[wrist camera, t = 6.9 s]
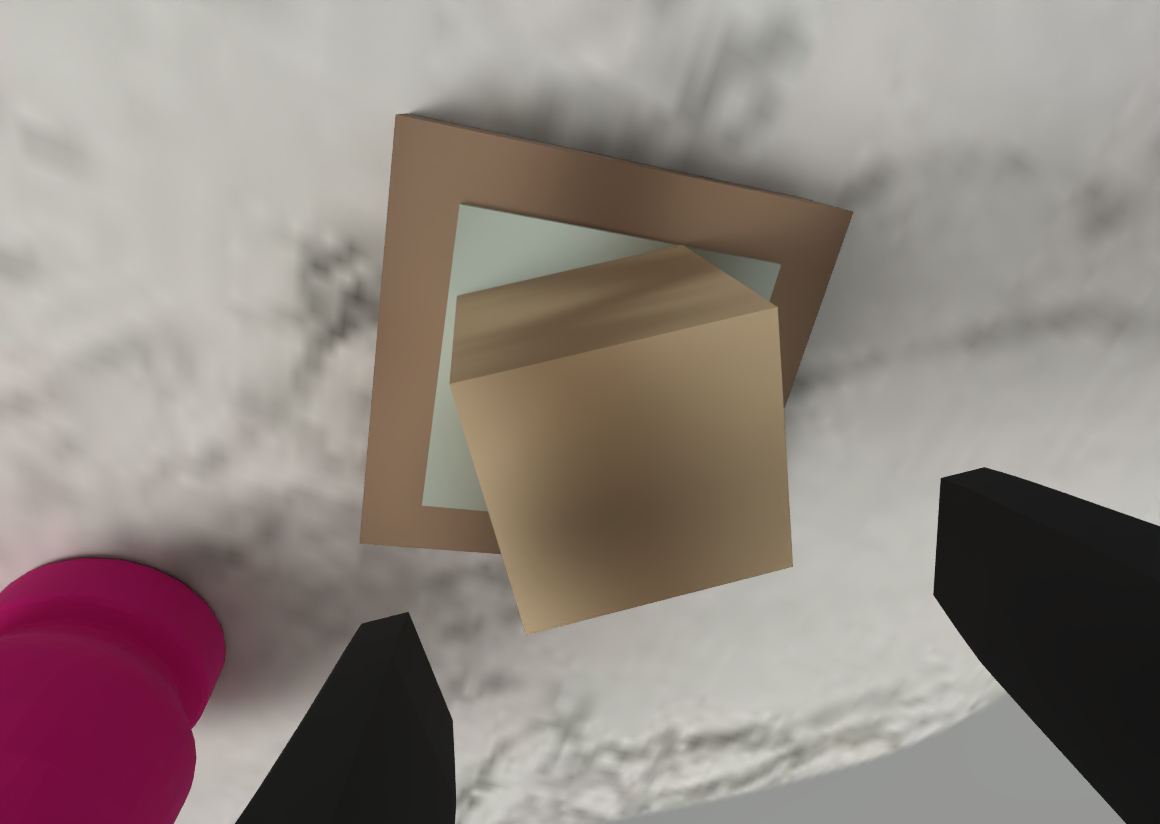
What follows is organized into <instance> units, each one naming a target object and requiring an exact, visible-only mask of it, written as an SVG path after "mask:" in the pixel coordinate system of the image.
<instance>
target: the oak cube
mask: <svg viewBox="0 0 1160 824" xmlns="http://www.w3.org/2000/svg"><path fill="white" fill-rule="evenodd" d="M449 385H450V388H451V391H452V395H453V398H454V401H455V404H456V408H457V411H458V414H459V417H460V421H461V424H462V427H463V431H464V434H465V437H466V440H467V444H468V447H469V450H470V453H471V457H472V460H473V463H474V466H475V470H476V473H477V476H478V479H479V483H480V486H481V489H482V492H483V496H484V499H485V502H486V506H487V509H488V512H489V515H490V519H491V522H492V525H493V528H494V532H495V535H496V538H497V541H498V545H499V548H500V551H501V554H502V558H503V561H504V564H505V568H506V571H507V574H508V577H509V581H510V584H511V587H512V590H513V594H514V597H515V600H516V603H517V607H518V610H519V613H520V616H521V620H522V623H523V626H524V629H525V633H526V635H528V634H532V633H536V632H540V631H544V630H548V629H551V628H555V627H559V626H563V625H567V624H571V623H575V622H579V621H583V620H587V619H590V618H594V617H598V616H602V615H606V614H610V613H614V612H618V611H622V610H626V609H630V608H633V607H637V606H641V605H645V604H649V603H653V602H657V601H661V600H665V599H669V598H672V597H676V596H680V595H684V594H688V593H692V592H696V591H700V590H704V589H708V588H711V587H715V586H719V585H723V584H727V583H731V582H735V581H739V580H743V579H747V578H750V577H754V576H758V575H762V574H766V573H770V572H774V571H778V570H782V569H786V568H789V567H793V559H792V542H791V525H790V508H789V491H788V474H787V457H786V440H785V423H784V406H783V389H782V372H781V355H780V338H779V321H778V307H777V306H775V305H774V304H772V303H771V302H769V301H768V300H766V299H765V298H763V297H762V296H760V295H759V294H757V293H755V292H754V291H752V290H751V289H749V288H748V287H746V286H745V285H743V284H742V283H740V282H739V281H737V280H736V279H734V278H733V277H731V276H730V275H728V274H726V273H725V272H723V271H722V270H720V269H719V268H717V267H716V266H714V265H713V264H711V263H710V262H708V261H707V260H705V259H704V258H702V257H701V256H699V255H697V254H696V253H694V252H693V251H691V250H690V249H688V248H687V247H685V246H684V245H682V244H681V245H677V246H673V247H668V248H664V249H660V250H655V251H651V252H646V253H642V254H638V255H633V256H629V257H625V258H620V259H616V260H611V261H607V262H603V263H598V264H594V265H590V266H585V267H581V268H576V269H572V270H568V271H563V272H559V273H554V274H550V275H546V276H541V277H537V278H533V279H528V280H524V281H519V282H515V283H511V284H506V285H502V286H498V287H493V288H489V289H484V290H480V291H476V292H471V293H467V294H462V295H458V296H457V299H456V311H455V323H454V335H453V347H452V358H451V370H450V382H449Z"/></svg>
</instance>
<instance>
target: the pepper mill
mask: <svg viewBox="0 0 1160 824" xmlns="http://www.w3.org/2000/svg"><path fill="white" fill-rule="evenodd" d="M225 649H226V648H225V643H224V637H223V631H222V629H221V626H220V624H219V623H218V621H217V619H216V617H215V616H214V614H213V612H212V611H211V609H210V608H209V606H208V605H207V603H206V602H205V601H203V600H202V599H201V598H200V597H199V596H198V595H196V594H195V593H194V592H193V591H192V590H191V589H189V588H188V587H187V586H186V585H185V584H183V583H182V582H181V581H179V580H177V579H175V578H172V577H170V576H168V575H166V574H164V573H162V572H160V571H158V570H156V569H154V568H151V567H147V566H143V565H139V564H136V563H132V562H128V561H124V560H119V559H95V558H80V559H74V560H68V561H62V562H56V563H51V564H48V565H45V566H42V567H39V568H36V569H34V570H32V571H29V572H27V573H26V574H24V575H23V576H21V577H20V578H18V579H17V580H15V581H13V582H12V583H10V584H9V585H8V586H7V587H6V588H5V589H4V590H3V591H2V592H1V593H0V824H174V822H175V820H176V818H177V816H178V814H179V812H180V810H181V808H182V806H183V805H184V803H185V800H186V798H187V796H188V794H189V791H190V789H191V786H192V782H193V778H194V771H195V764H196V749H195V740H194V737H193V733H192V730H191V729H192V728H193V727H194V726H195V724H196V723H197V721H198V720H199V719H200V717H201V715H202V713H203V711H204V709H205V707H206V705H207V702H208V700H209V698H210V696H211V693H212V691H213V689H214V687H215V684H216V682H217V680H218V678H219V675H220V673H221V671H222V668H223V665H224V661H225Z"/></svg>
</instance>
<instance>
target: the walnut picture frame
mask: <svg viewBox="0 0 1160 824" xmlns="http://www.w3.org/2000/svg"><path fill="white" fill-rule="evenodd" d="M852 214H853V212H852V211H848V210H844V209H841V208H837V207H833V206H830V205H826V204H823V203H819V202H815V201H812V200H808V199H804V198H800V197H795V196H791V195H786V194H781V193H777V192H772V191H767V190H763V189H758V188H753V187H749V186H744V185H739V184H735V183H730V182H725V181H721V180H716V179H711V178H707V177H702V176H697V175H692V174H688V173H683V172H678V171H674V170H669V169H664V168H660V167H655V166H650V165H646V164H641V163H636V162H632V161H627V160H622V159H618V158H613V157H608V156H604V155H599V154H594V153H590V152H585V151H580V150H576V149H571V148H566V147H562V146H557V145H552V144H548V143H543V142H538V141H533V140H529V139H524V138H519V137H515V136H510V135H505V134H501V133H496V132H491V131H487V130H482V129H477V128H473V127H468V126H463V125H459V124H454V123H449V122H445V121H440V120H435V119H431V118H426V117H421V116H417V115H412V114H397V115H396V117H395V128H394V140H393V152H392V164H391V176H390V188H389V200H388V212H387V224H386V236H385V247H384V259H383V271H382V283H381V295H380V307H379V319H378V331H377V343H376V354H375V366H374V378H373V390H372V402H371V414H370V426H369V438H368V450H367V462H366V473H365V485H364V497H363V509H362V521H361V533H360V543H362V544H375V545H389V546H402V547H415V548H428V549H441V550H455V551H468V552H481V553H494V554H501V551H500V548H499V545H498V541H497V538H496V535H495V532H494V528H493V525H492V522H491V519H490V515H489V512H488V509H487V506H486V502H485V499H484V496H483V492H482V489H481V486H480V483H479V479H478V476H477V473H476V470H475V466H474V463H473V460H472V457H471V453H470V450H469V447H468V444H467V440H466V437H465V434H464V431H463V427H462V424H461V421H460V417H459V414H458V411H457V408H456V404H455V401H454V398H453V395H452V391H451V388H450V385H449V382H450V370H451V358H452V347H453V335H454V323H455V311H456V299H457V296H458V295H462V294H467V293H471V292H476V291H480V290H484V289H489V288H493V287H498V286H502V285H506V284H511V283H515V282H519V281H524V280H528V279H533V278H537V277H541V276H546V275H550V274H554V273H559V272H563V271H568V270H572V269H576V268H581V267H585V266H590V265H594V264H598V263H603V262H607V261H611V260H616V259H620V258H625V257H629V256H633V255H638V254H642V253H646V252H651V251H655V250H660V249H664V248H668V247H673V246H677V245H681V244H682V245H684V246H685V247H687V248H688V249H690V250H691V251H693V252H694V253H696V254H697V255H699V256H701V257H702V258H704V259H705V260H707V261H708V262H710V263H711V264H713V265H714V266H716V267H717V268H719V269H720V270H722V271H723V272H725V273H726V274H728V275H730V276H731V277H733V278H734V279H736V280H737V281H739V282H740V283H742V284H743V285H745V286H746V287H748V288H749V289H751V290H752V291H754V292H755V293H757V294H759V295H760V296H762V297H763V298H765V299H766V300H768V301H769V302H771V303H772V304H774V305H775V306H777V307H778V321H779V338H780V355H781V372H782V389H783V406H784V407H785V404H786V402H787V399H788V396H789V393H790V390H791V387H792V385H793V382H794V379H795V376H796V373H797V370H798V368H799V365H800V362H801V359H802V356H803V353H804V351H805V348H806V345H807V342H808V339H809V336H810V334H811V331H812V328H813V325H814V322H815V319H816V317H817V314H818V311H819V308H820V305H821V302H822V299H823V297H824V294H825V291H826V288H827V285H828V282H829V280H830V277H831V274H832V271H833V268H834V265H835V263H836V260H837V257H838V254H839V251H840V248H841V246H842V243H843V240H844V237H845V234H846V231H847V229H848V226H849V223H850V220H851V217H852Z"/></svg>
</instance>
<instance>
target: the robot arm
mask: <svg viewBox="0 0 1160 824" xmlns="http://www.w3.org/2000/svg"><path fill="white" fill-rule="evenodd" d="M933 595H934V597H935V598H936V600H937V601H938V602H939V604H940V605H941V607H942V608H943V610H944V611H945V613H946V614H947V616H948V617H949V619H950V620H951V622H952V623H953V625H954V626H955V627H956V629H957V630H958V632H959V633H960V635H961V636H962V637H963V639H964V640H965V641H966V643H967V644H968V646H969V647H970V648H971V650H972V651H973V652H974V654H975V655H976V656H977V658H978V659H979V661H980V662H981V663H982V664H983V665H984V667H985V668H986V669H987V670H988V671H989V672H990V673H991V675H992V676H993V677H994V678H995V679H996V680H997V681H998V682H999V684H1000V685H1001V686H1002V687H1003V688H1004V689H1005V690H1006V691H1007V693H1008V694H1009V695H1010V696H1011V697H1012V698H1013V699H1014V700H1015V702H1016V703H1017V704H1018V705H1019V706H1020V707H1021V708H1022V709H1023V710H1024V711H1025V713H1026V714H1027V715H1028V716H1029V717H1030V718H1031V719H1032V720H1033V722H1034V723H1035V724H1036V725H1037V726H1038V727H1039V728H1040V729H1041V730H1042V731H1043V733H1044V734H1045V735H1046V736H1047V737H1048V738H1049V739H1050V740H1051V741H1052V742H1053V743H1054V745H1055V746H1056V747H1057V748H1058V749H1059V750H1060V751H1061V752H1062V753H1063V755H1064V756H1065V757H1066V758H1067V759H1068V760H1069V761H1070V762H1071V763H1072V764H1073V765H1074V767H1075V768H1076V769H1077V770H1078V771H1079V772H1080V773H1081V774H1082V775H1083V777H1084V778H1085V779H1086V780H1087V781H1088V782H1089V783H1090V784H1091V785H1092V786H1093V788H1094V789H1095V790H1096V791H1097V792H1098V793H1099V794H1100V795H1101V796H1102V798H1104V800H1105V801H1106V802H1107V803H1108V804H1109V805H1110V806H1111V807H1112V809H1114V811H1115V812H1116V813H1117V814H1118V815H1119V816H1120V817H1121V818H1122V820H1123V821H1124V822H1125V823H1126V824H1160V526H1157V525H1154V524H1152V523H1149V522H1146V521H1143V520H1140V519H1137V518H1134V517H1132V516H1129V515H1126V514H1123V513H1120V512H1117V511H1114V510H1112V509H1109V508H1106V507H1103V506H1100V505H1097V504H1095V503H1092V502H1089V501H1086V500H1083V499H1080V498H1077V497H1075V496H1072V495H1069V494H1066V493H1063V492H1060V491H1057V490H1054V489H1052V488H1049V487H1046V486H1043V485H1040V484H1037V483H1034V482H1031V481H1028V480H1025V479H1022V478H1019V477H1016V476H1012V475H1009V474H1006V473H1003V472H999V471H996V470H992V469H989V468H985V467H983V468H979V469H975V470H971V471H967V472H963V473H960V474H956V475H952V476H948V477H944V478H941V483H940V499H939V515H938V531H937V546H936V562H935V578H934V594H933ZM455 813H456V783H455V757H454V738H453V720H452V717H451V715H450V712H449V710H448V708H447V705H446V703H445V700H444V698H443V695H442V693H441V690H440V688H439V685H438V683H437V681H436V678H435V676H434V673H433V671H432V668H431V666H430V663H429V661H428V659H427V656H426V654H425V651H424V649H423V646H422V644H421V641H420V639H419V636H418V634H417V632H416V629H415V627H414V624H413V622H412V619H411V617H410V614H409V612H406V613H402V614H398V615H394V616H390V617H386V618H382V619H378V620H374V621H370V622H366V623H362V624H361V626H360V627H359V629H358V630H357V632H356V633H355V635H354V636H353V638H352V640H351V641H350V643H349V644H348V646H347V647H346V649H345V651H344V652H343V654H342V656H341V657H340V659H339V661H338V662H337V664H336V665H335V667H334V669H333V670H332V672H331V674H330V675H329V677H328V679H327V680H326V682H325V684H324V685H323V687H322V689H321V690H320V692H319V694H318V695H317V697H316V698H315V700H314V702H313V703H312V705H311V707H310V708H309V710H308V711H307V713H306V715H305V716H304V718H303V720H302V721H301V723H300V724H299V726H298V728H297V729H296V731H295V732H294V734H293V736H292V737H291V739H290V740H289V742H288V743H287V745H286V747H285V748H284V750H283V751H282V753H281V754H280V756H279V757H278V759H277V761H276V762H275V764H274V765H273V767H272V768H271V770H270V772H269V773H268V775H267V776H266V778H265V779H264V781H263V783H262V784H261V786H260V787H259V789H258V790H257V792H256V793H255V795H254V796H253V798H252V799H251V801H250V802H249V804H248V805H247V807H246V808H245V810H244V811H243V813H242V814H241V816H240V817H239V818H238V820H237V821H236V823H235V824H455Z"/></svg>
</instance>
